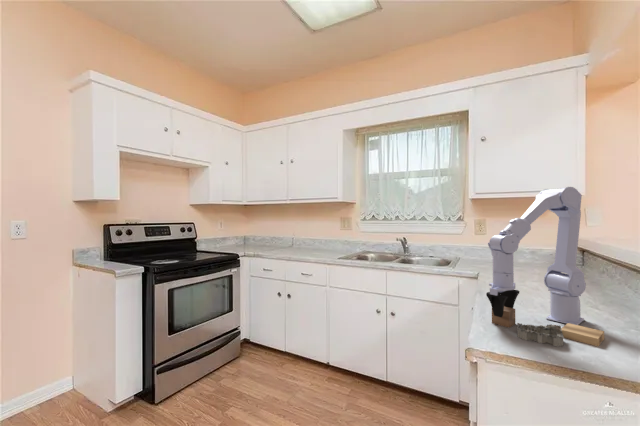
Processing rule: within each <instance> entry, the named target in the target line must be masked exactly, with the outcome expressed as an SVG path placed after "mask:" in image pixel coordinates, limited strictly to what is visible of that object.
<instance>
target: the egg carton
mask: <svg viewBox="0 0 640 426" xmlns="http://www.w3.org/2000/svg"><path fill="white" fill-rule="evenodd" d="M561 328H562V327H561V325H557V324H547V325H541V324H540V325H534V324H523V323H520V322H517V323H516V329H517V330H516V331H517V332H516V333H517V335H516V336H517V338H520V339H522V340H523V341H529V340H530V341H535V342H536V343H539V344H543V343H544V344H545V343H547V344H549V345H550V344H551V345H552V346H554V347H560V346H562V347H564V339H565V338H564V336H563V333H562V329H561Z"/></svg>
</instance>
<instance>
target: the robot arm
mask: <svg viewBox="0 0 640 426" xmlns="http://www.w3.org/2000/svg"><path fill="white" fill-rule="evenodd" d="M581 205H582V194H581V193H580V191H578V189H577V188H576V187H574V186H567V187H566V186H565V187H559V188H551V189H550V188H545V189H542V190H541V191H540V192H539V193H537V195H535V200H534V201H533V203H532V204H530V206H529V207H528V208H527V209H526V211H524V213H523V214H522V215H521V217H516V218H513V219H510V220H509V221H508V224H507V225H506V226H505V227H504V228H503V229H501V230H500V231H499V233H498V234H494V235H493V236H492V237H491V238H490V240H489V242H488V243H487V245H488V248H489V250H490V252H491V255H492V282H489V283H488V286H490V287H489V291H488V292H486V297H487V298H488V301H489V302H490V305H491V310H492V309H493V313H494V316H498V317H502V316H503V310H504V306H505V307H509V308H514V307H515V302H516V300H517V298H518V296H519V294H520V290H518V289H516V282H514V281H515V280H514V274H515V273H514V253H515V252H517V251H518V249H519V244H520V242H521V240H522V239H523V238H524V237H525V236H527V234H528V233H529V232H530V231H531V230H532V227H531V225H532V224H533V223H534V222H536V220H538V219H539V217H541V216H542V215H543V214H544V213H545V212H546V211H548V210H549V211H550V212H552V213H554V214H555V215H556V216H557V217H558V224H557V233H556V243H555V244H556V245H555V255H554V262H553V263H552V264H550V265H549V266H547V269H546V273H545V275H544V276H543V282H544V286H545V287H546V288H547V289H548V291H549V293H550V294H549V295H550V298H549V299H550V301H549V303H550V314H549V315H548V316H546V317H545V319H546V320H549V321H554V322H558V323H562V324H565V325H566V324H567V323H570V324H575V325H579V326H580V324H581V323H583V322H584V321H585V318H584V317H581V299H580V297H581V296H582V294H583V293H584V292H585V291H586V288H587V287H586V286H587V285H586V280H585V273H584V271H582V270H581V269H580V268H579V267H577V258H578V246H579V236H580V229H581V228H580V226H581V217H582V211H581Z"/></svg>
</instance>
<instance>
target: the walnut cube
mask: <svg viewBox="0 0 640 426" xmlns="http://www.w3.org/2000/svg"><path fill="white" fill-rule="evenodd" d="M491 323H492V324H494V323H495V324H494V325H497V324H498V326H501V327H506V328H507V329H509V328H512V327H513V326H515V325H516V308H514V307H513V308H509V307H505V306H504V310H503V316H502V317H498V316H494V313H493V309H492V308H491Z"/></svg>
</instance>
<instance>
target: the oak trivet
mask: <svg viewBox="0 0 640 426" xmlns="http://www.w3.org/2000/svg"><path fill="white" fill-rule="evenodd" d="M561 329H562V333H563V336H564V339H568V340H573V341H576V342H579V343H583V344H587V345H590V346H595V347H599V346H600V345H601V344H602V342H604V341H605V331H604V330H601V329H596V328H591V327H587V326H583V325H580V324H579V325H575V324H570V323H567V324H566V323H565V325H564V326H563V327H561Z"/></svg>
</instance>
